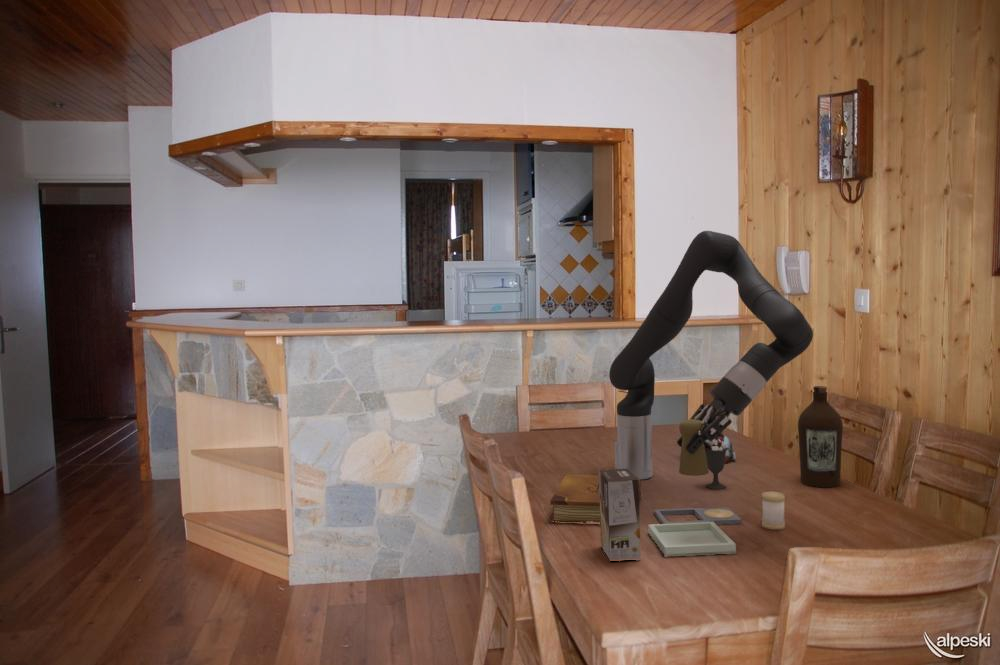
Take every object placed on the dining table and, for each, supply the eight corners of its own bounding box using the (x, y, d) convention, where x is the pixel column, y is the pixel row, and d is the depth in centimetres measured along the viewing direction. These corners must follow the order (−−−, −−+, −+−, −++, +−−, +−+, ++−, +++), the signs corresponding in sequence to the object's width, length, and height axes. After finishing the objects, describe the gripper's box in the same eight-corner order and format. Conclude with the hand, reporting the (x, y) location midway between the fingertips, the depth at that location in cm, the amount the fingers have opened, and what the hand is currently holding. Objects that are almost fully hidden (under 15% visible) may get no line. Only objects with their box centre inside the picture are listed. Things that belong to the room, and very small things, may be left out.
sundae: (731, 484, 201) (730, 427, 200) (727, 491, 195) (726, 432, 194) (705, 482, 204) (704, 425, 202) (700, 488, 198) (699, 430, 196)
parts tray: (648, 533, 165) (648, 524, 165) (713, 530, 166) (713, 521, 165) (665, 557, 151) (664, 547, 151) (735, 554, 152) (735, 544, 151)
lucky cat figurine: (739, 464, 220) (720, 424, 217) (699, 479, 224) (679, 440, 220) (731, 438, 234) (713, 401, 231) (693, 453, 238) (675, 416, 234)
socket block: (665, 528, 168) (664, 522, 168) (653, 514, 178) (653, 509, 178) (742, 524, 169) (741, 519, 169) (726, 510, 179) (726, 505, 179)
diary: (635, 529, 170) (634, 503, 170) (551, 525, 174) (550, 500, 174) (640, 498, 192) (640, 475, 192) (566, 496, 197) (565, 473, 196)
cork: (710, 475, 158) (707, 422, 157) (679, 475, 159) (677, 422, 158) (707, 468, 164) (705, 417, 163) (678, 469, 165) (676, 417, 164)
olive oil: (796, 476, 206) (796, 383, 204) (840, 478, 203) (840, 384, 201) (799, 487, 196) (799, 389, 194) (845, 489, 193) (845, 390, 191)
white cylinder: (758, 526, 167) (758, 494, 167) (768, 521, 170) (768, 490, 170) (778, 531, 164) (778, 498, 163) (788, 526, 167) (788, 494, 167)
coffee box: (641, 560, 150) (640, 479, 149) (609, 562, 149) (607, 481, 148) (629, 544, 159) (628, 467, 158) (599, 546, 158) (597, 469, 157)
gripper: (713, 372, 168) (661, 430, 168) (738, 379, 153) (681, 443, 153) (738, 395, 168) (686, 453, 168) (765, 404, 154) (708, 468, 154)
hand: (684, 448), depth 161 cm, fingers closed on cork, 5 cm apart
